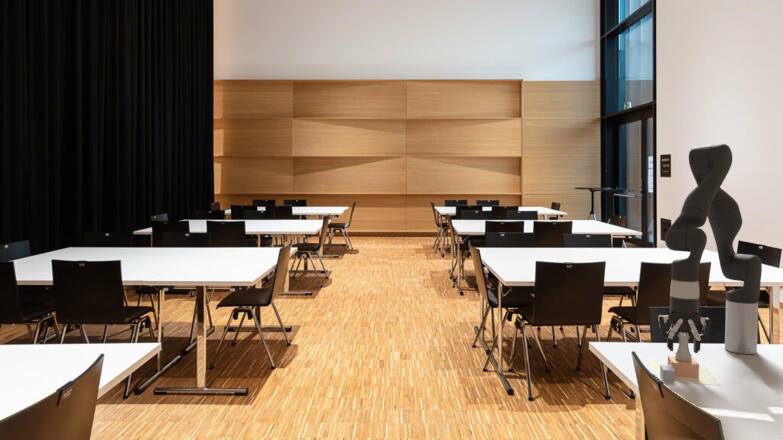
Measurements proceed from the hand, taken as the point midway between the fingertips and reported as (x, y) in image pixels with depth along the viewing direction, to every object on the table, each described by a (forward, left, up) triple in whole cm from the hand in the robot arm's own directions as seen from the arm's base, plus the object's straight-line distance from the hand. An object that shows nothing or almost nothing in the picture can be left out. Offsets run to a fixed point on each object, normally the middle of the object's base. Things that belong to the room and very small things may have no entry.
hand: (683, 351), depth 157 cm
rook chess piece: (0, 0, -3) cm, 3 cm away
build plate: (0, 0, -8) cm, 8 cm away
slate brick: (+6, -5, -7) cm, 10 cm away
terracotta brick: (0, 0, -7) cm, 7 cm away
